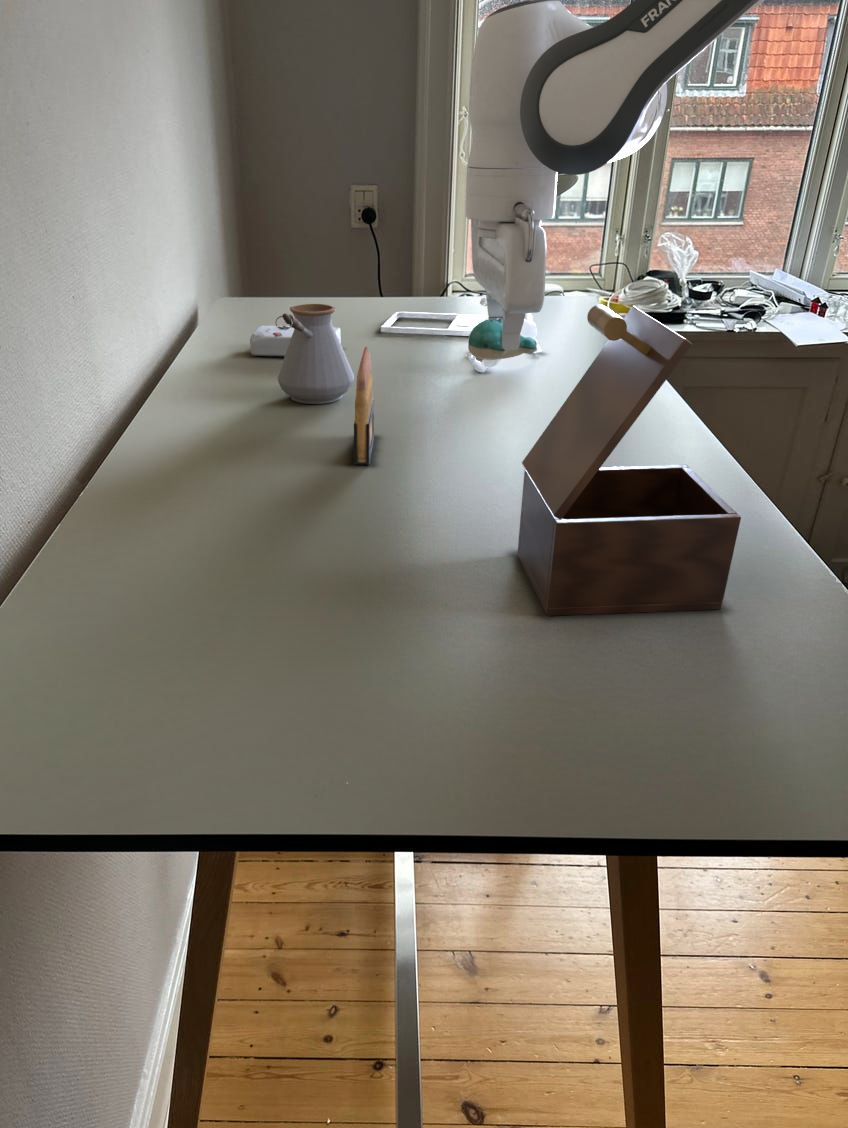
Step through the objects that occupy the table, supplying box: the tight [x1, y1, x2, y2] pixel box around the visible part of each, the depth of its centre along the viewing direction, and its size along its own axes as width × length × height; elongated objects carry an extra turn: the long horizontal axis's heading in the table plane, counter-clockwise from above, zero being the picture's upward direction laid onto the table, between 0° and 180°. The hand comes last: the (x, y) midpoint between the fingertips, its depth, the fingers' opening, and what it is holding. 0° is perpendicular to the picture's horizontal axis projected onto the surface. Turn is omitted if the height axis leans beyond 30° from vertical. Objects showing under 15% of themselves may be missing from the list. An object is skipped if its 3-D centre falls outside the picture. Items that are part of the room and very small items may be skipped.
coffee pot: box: [274, 303, 355, 405], centre depth 130 cm, size 21×12×15 cm, turn 169°
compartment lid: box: [521, 304, 693, 520], centre depth 77 cm, size 16×13×5 cm
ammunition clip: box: [353, 346, 375, 466], centre depth 114 cm, size 11×2×12 cm, turn 176°
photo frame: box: [380, 311, 486, 337], centre depth 179 cm, size 15×1×18 cm
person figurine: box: [465, 296, 543, 373], centre depth 151 cm, size 13×13×18 cm
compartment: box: [517, 464, 742, 617], centre depth 84 cm, size 16×13×9 cm
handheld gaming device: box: [249, 324, 342, 358], centre depth 161 cm, size 9×15×4 cm, turn 81°
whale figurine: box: [467, 319, 538, 360], centre depth 98 cm, size 6×7×4 cm
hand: (502, 341), depth 98 cm, fingers closed on whale figurine, 5 cm apart
